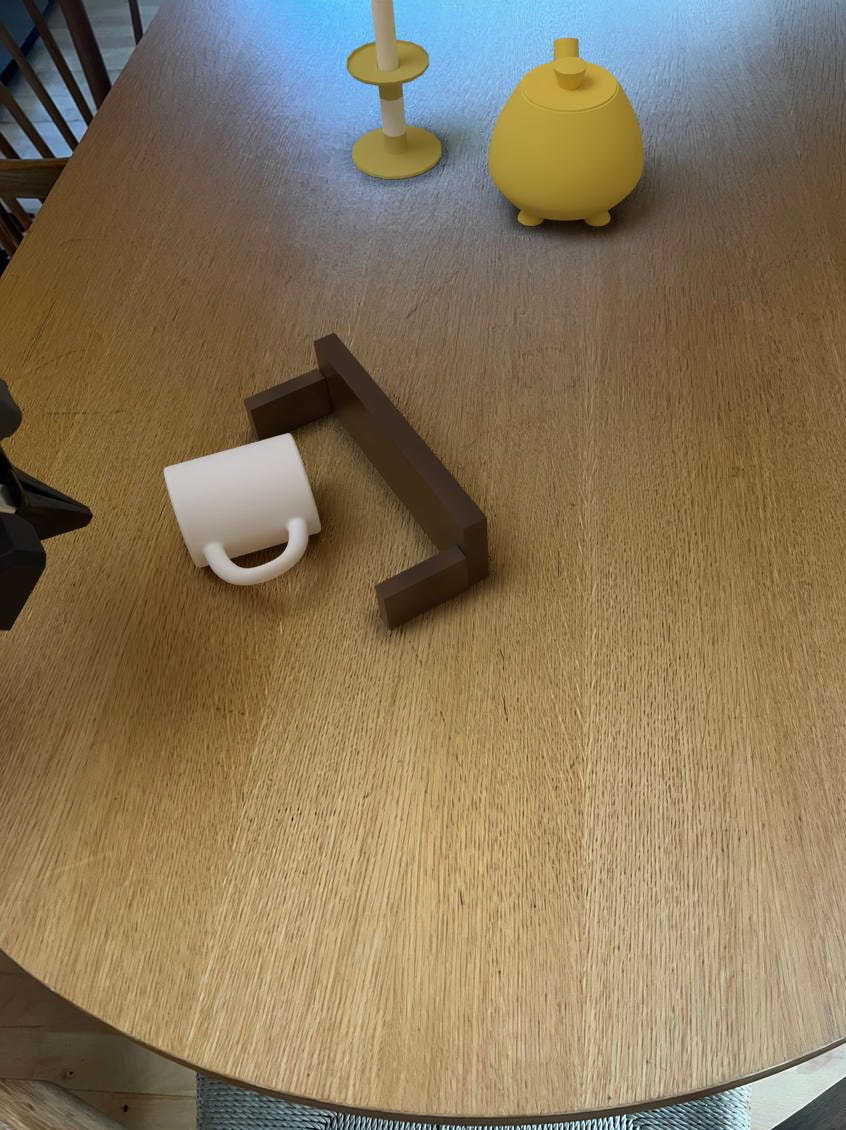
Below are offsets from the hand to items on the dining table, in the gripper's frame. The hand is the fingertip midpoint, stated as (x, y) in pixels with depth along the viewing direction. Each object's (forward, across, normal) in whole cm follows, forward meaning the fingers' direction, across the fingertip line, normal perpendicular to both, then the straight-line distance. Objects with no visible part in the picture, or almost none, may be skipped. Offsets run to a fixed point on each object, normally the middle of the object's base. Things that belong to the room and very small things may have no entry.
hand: (89, 517), depth 69 cm
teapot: (+49, +27, -34) cm, 65 cm away
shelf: (+22, 0, -6) cm, 23 cm away
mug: (+15, 0, 0) cm, 15 cm away
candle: (+41, +42, -25) cm, 64 cm away
